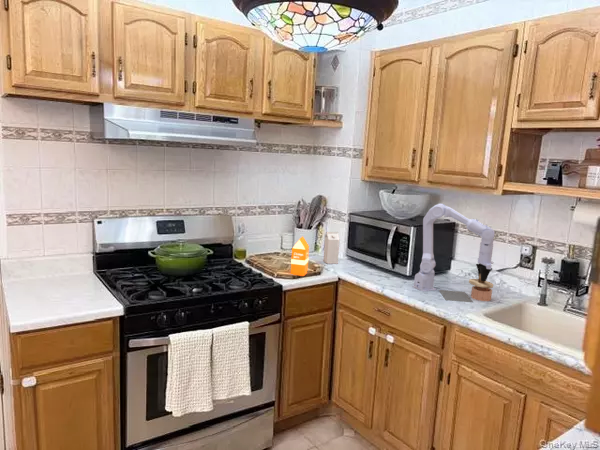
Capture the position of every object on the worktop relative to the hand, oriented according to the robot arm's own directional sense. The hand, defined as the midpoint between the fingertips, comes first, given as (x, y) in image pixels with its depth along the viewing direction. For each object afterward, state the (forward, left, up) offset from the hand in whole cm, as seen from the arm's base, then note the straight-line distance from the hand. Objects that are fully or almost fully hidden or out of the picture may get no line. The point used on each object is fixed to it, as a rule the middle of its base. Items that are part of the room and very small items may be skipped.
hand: (482, 279), depth 217 cm
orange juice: (-63, +69, -10) cm, 94 cm away
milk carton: (-33, +83, -10) cm, 89 cm away
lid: (0, 0, -2) cm, 2 cm away
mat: (-10, +7, -10) cm, 15 cm away
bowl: (0, 0, -10) cm, 10 cm away
